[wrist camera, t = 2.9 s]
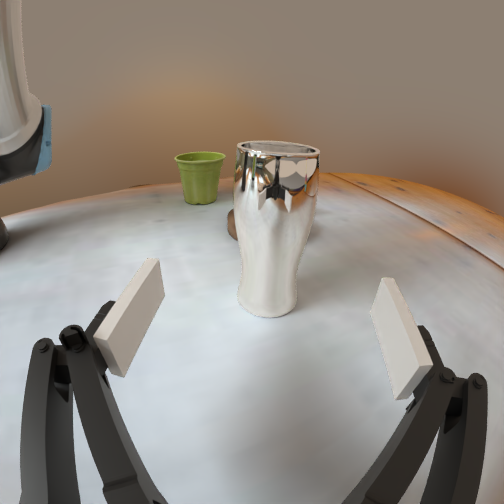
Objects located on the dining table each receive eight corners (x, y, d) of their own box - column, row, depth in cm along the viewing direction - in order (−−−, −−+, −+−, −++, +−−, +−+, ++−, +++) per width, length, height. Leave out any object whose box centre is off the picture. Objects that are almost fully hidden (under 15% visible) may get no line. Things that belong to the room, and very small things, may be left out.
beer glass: (224, 314, 26) (223, 149, 18) (240, 274, 32) (244, 138, 24) (298, 326, 25) (325, 158, 17) (302, 282, 31) (320, 145, 23)
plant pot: (235, 199, 54) (236, 155, 49) (198, 212, 47) (197, 163, 43) (202, 189, 59) (202, 150, 54) (167, 201, 52) (164, 157, 48)
